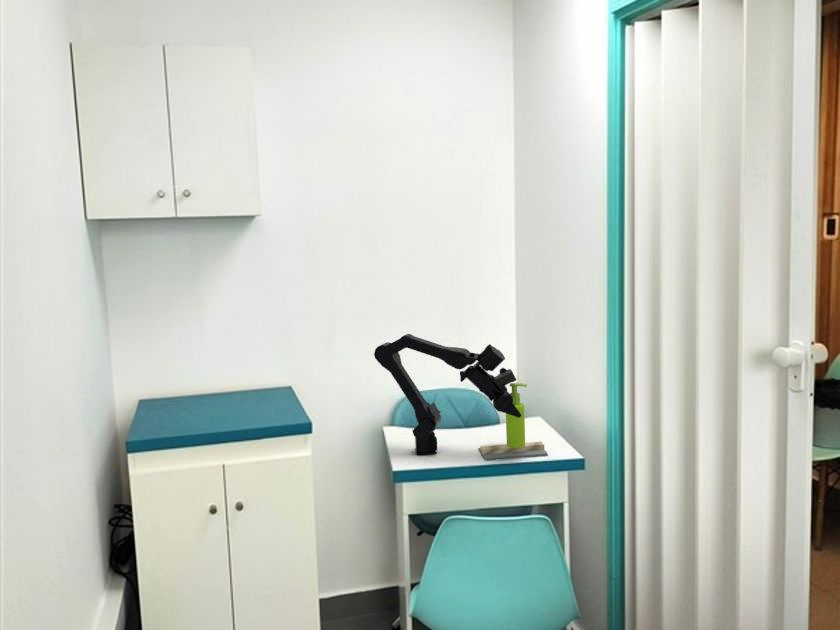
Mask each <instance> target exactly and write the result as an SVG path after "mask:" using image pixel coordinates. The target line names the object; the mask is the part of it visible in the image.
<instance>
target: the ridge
mask: <svg viewBox="0 0 840 630" xmlns="http://www.w3.org/2000/svg"><path fill="white" fill-rule="evenodd" d="M479 448H480V451H481V453H482V454H483V455H484V454H497V453H510V452H523V451H536V450H545V444H544V442H542V441H532V442H525V446H523V447H519V448H513V447H508V446H507V443H505V444H495V445H494V444H493V445H492V444H491V445H480V447H479Z"/></svg>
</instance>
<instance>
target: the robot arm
mask: <svg viewBox="0 0 840 630" xmlns="http://www.w3.org/2000/svg"><path fill="white" fill-rule="evenodd" d="M405 349H410V350H413V351H416V352H418V353H422V354H423V355H427V356H430V357H434V358H437V359H439V360H441V361H443V362H444V363H445V364H446V365H448V366H450V367H452V368H453V369H456V370H460V371H459V376H460V377H459V378H460V381H459V382H461V383H462V382H464V381H465V380H466V379H467V380H468V381H469V382H470V383H472V385H474V386H475V387H476V388H477V389H478V390H479V392H480V393H483V394H484V396H486V398H488V400H489V401H490V402H492V406H493V408H494V409H495V410H496V411H497V412H499V413H503V414H504V413H505V414H506V413H507V414H510V415H513V416H515V417H518V418H520V417H521V416H522V415H521V414H520V412H519V411H518V410H517V408H516V407H515V406H514V404H513V397H512V395H511V394H510V393H511V392H509V391H508V388H507V386H508V384H509V385H510V383H515V382H517V378H516V376H515V374H514V372H513V370H512V369H511V368H508V369H507V368H505V367H502V368H500V369H499V373H497V375H495V376H494V375H493V374H490V373H489V371H490V372H493V371H494V370H495V369H496V368H497V367H499V366H500V365H501V364H502V363H503V362H504V361H505V360H506V357H505V355H504V353H502V352H501V350H500V349H497V348H496V347H495V346H493V345H492V344H491V343H489V344H488V345H486V347H485V348H484V350H482V351H481V353H478V352H477V353H475V352H471V351H470V350H469V349H466V348H463V347H455V346H446V345H442V344H438V343H435V342H433V341H429V340H427V339H424V338H420V337H418V336H415V335H413V334H411V333H406V334H404V335H402V336H401V337H400V338H399V339H396V340H394V341H393V342H384V343H383V344H380V345H378V346H377V347H375V349H374V353H373V356H374V359H375V360H376V361H377V363H378V364H379V365H381V367H383V368H384V369H385V370H387V371H388V372H389V373H390V374H391V376H392V377H393V379H394V380H395V382H396V383H397V385H398V387H399V388H400V389H401V391H402V393H403V394H404V396H405V397H406V399H407V401H408V402H409V403H410V405H411V406H412V408H413V410H414V414H415V418H416V421H417V423H418V424H417V426H415V427H414V429H412V435H413V436H414V444H415V448H414V451H415V455H417V456H423V455H437V453H438V452H437V451H438V438H437V436H436V434H435V431H436V428H438V427H439V425H440V424H441V421H442V416H441V411H440V410H439V409H438V408H437V405H436V403H435V402H434V401H433V402H432V403H429V402H428V401H426V399H425V397H424V396H423V394H422V393H421V392H420V390H419V389H418V387H417V385H416V384H415V382H414V381H413V379H412V378H411V376H410V375H409V373H408V372H407V370H406V368H405V367H404V366H403V364H402V359H401V355H400V353H399V352H401V351H402V350H405ZM474 363H475V364H474ZM467 366H468V367H467ZM466 367H467V368H466ZM465 368H466V369H465ZM463 369H465V370H463Z"/></svg>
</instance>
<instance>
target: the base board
mask: <svg viewBox="0 0 840 630" xmlns="http://www.w3.org/2000/svg"><path fill="white" fill-rule="evenodd" d="M477 449H478V450H479V451H478V452H479V453H481V451H480V447H478V448H477ZM480 455H481V457H482V458H483V461H485V460H487V461H496V459H500V460H510V459H523V458H524V459H525V458H526V459H527V458H537V457H538V458H539V457H548V455H549V454H548V452H547V451H546V450H545V449H544V450H536V451H523V452H510V453H497V454H484V455H483V454H482V453H481V454H480Z"/></svg>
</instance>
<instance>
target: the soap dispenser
mask: <svg viewBox="0 0 840 630" xmlns="http://www.w3.org/2000/svg"><path fill="white" fill-rule="evenodd" d="M527 386H528V384H527V383H523V382H511V383H509V387H511V392H509V393H510V394H511V395H512V397H513V404H514V406H515V407H516V408H517V410H518V411H519V412H520V414H521V415H522V416H521V417H520V418H518V417H515V416H513V415H510V414H507V413H505V429H506V436H505V437H506V444H507V446H508V447H513V448H519V447H523V446H525V443H526V423H525V422H526V421H525V403H521V394H520V393H519V392H518V387H525V388H526V387H527Z"/></svg>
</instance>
